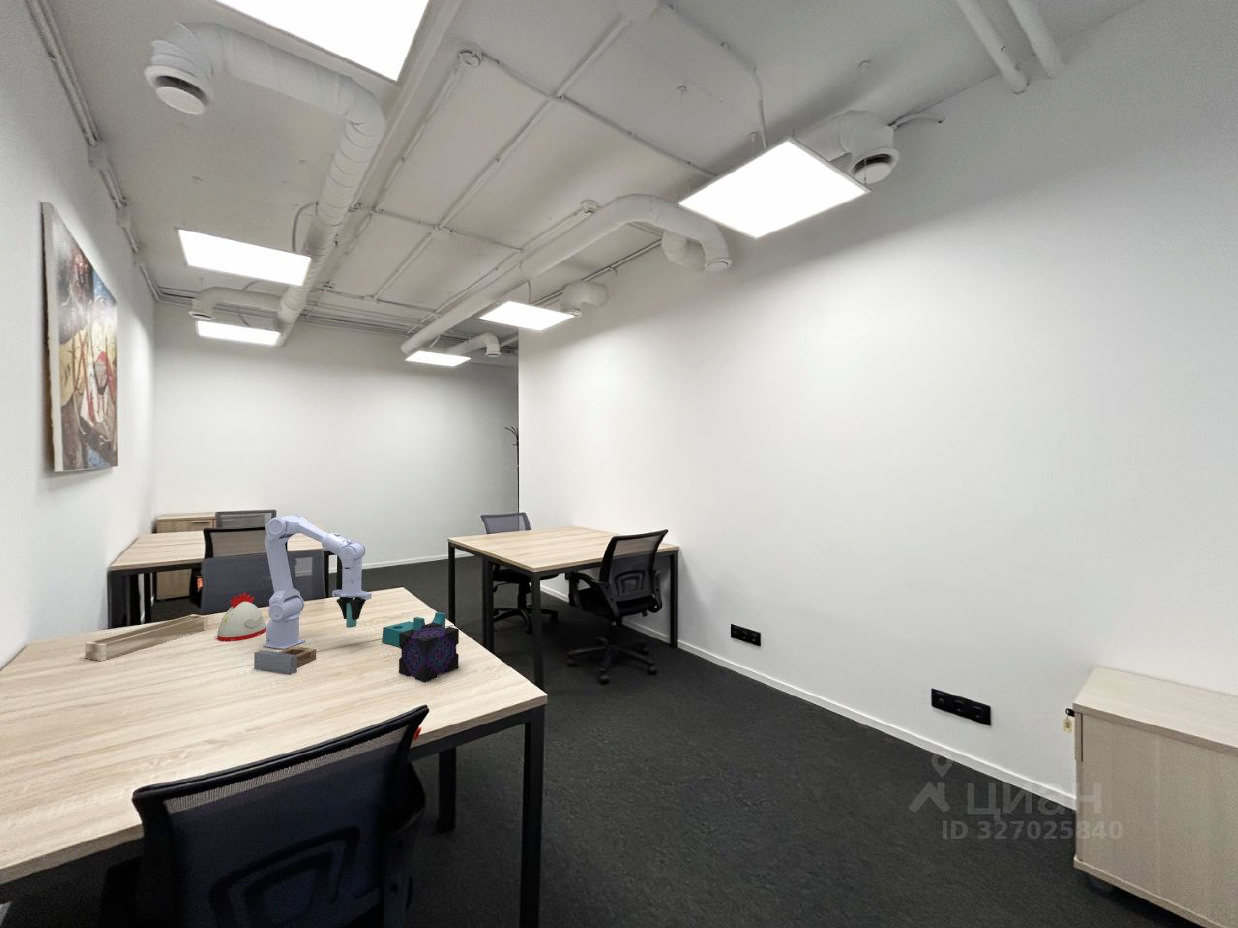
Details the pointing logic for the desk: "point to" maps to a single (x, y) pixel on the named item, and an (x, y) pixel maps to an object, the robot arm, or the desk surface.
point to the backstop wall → (275, 662)
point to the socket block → (301, 654)
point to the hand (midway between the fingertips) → (351, 618)
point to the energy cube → (428, 651)
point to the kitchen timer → (241, 621)
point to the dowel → (350, 617)
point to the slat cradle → (144, 637)
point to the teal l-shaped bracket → (408, 628)
